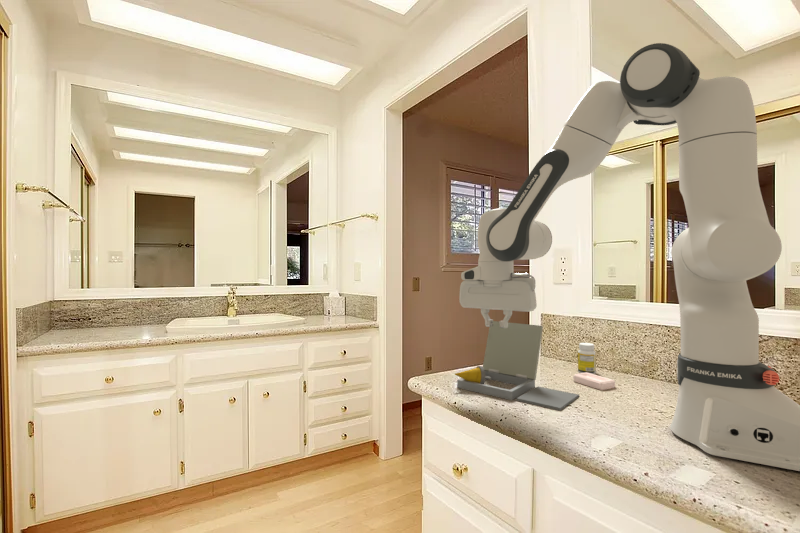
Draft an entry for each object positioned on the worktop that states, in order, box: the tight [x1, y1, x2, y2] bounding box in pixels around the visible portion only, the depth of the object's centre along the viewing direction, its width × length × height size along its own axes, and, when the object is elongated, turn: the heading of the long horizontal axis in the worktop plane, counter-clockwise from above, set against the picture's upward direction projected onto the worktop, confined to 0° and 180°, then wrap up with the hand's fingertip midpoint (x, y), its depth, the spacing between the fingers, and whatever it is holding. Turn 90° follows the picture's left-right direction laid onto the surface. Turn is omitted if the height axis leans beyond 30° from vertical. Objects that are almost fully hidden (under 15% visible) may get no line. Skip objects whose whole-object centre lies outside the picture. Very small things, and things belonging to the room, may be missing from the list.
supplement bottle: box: [577, 342, 597, 375], centre depth 118 cm, size 5×5×8 cm
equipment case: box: [456, 320, 544, 401], centre depth 107 cm, size 15×20×15 cm
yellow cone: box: [454, 365, 491, 384], centre depth 104 cm, size 5×5×10 cm
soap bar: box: [572, 372, 616, 391], centre depth 106 cm, size 5×9×2 cm, turn 25°
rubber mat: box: [516, 386, 580, 411], centre depth 95 cm, size 10×12×1 cm
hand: (496, 327), depth 104 cm, fingers open, 3 cm apart
